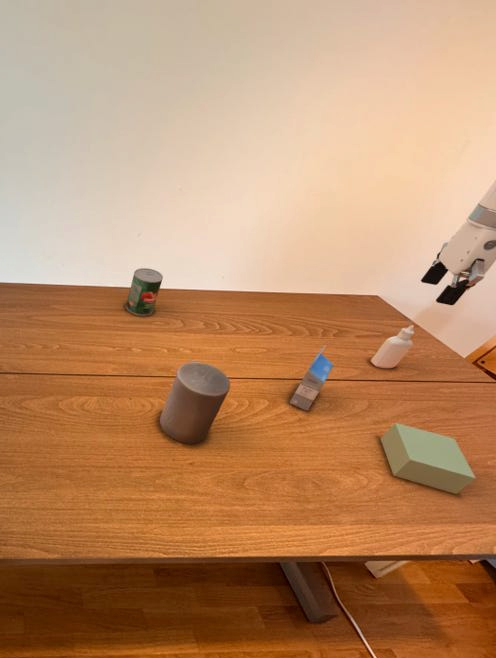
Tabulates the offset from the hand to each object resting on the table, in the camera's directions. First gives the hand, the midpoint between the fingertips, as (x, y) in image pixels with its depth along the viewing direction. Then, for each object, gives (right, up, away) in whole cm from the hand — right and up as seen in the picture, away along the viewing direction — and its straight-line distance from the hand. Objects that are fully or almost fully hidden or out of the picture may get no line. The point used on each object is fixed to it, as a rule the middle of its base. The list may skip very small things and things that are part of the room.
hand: (435, 292), depth 94 cm
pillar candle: (-59, -29, -6) cm, 66 cm away
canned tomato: (-58, 0, +29) cm, 65 cm away
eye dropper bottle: (0, -16, +14) cm, 21 cm away
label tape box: (-28, -24, +3) cm, 37 cm away
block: (-15, -36, -11) cm, 41 cm away
